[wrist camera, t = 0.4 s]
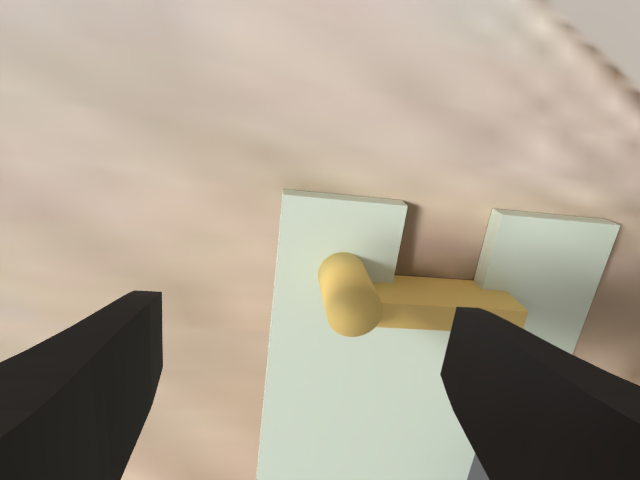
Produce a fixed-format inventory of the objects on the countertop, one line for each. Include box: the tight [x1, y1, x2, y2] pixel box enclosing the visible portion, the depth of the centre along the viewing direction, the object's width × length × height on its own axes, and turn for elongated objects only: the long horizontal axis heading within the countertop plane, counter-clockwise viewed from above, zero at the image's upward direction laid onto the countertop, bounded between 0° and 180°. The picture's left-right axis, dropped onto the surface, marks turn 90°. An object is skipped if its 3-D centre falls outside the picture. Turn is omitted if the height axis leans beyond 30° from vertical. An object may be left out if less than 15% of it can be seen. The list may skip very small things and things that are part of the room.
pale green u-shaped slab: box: [256, 189, 620, 480], centre depth 22 cm, size 20×16×4 cm
